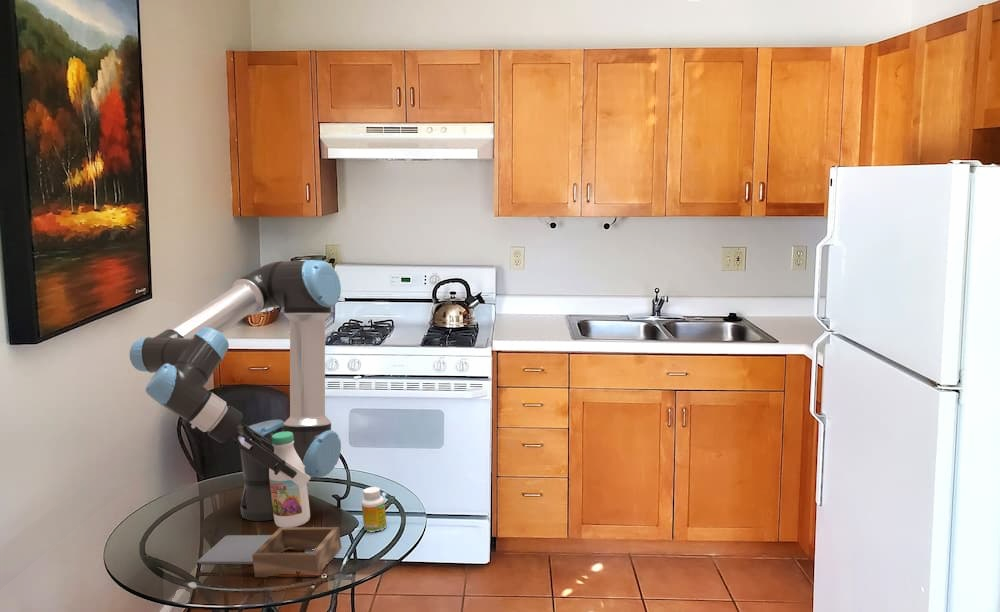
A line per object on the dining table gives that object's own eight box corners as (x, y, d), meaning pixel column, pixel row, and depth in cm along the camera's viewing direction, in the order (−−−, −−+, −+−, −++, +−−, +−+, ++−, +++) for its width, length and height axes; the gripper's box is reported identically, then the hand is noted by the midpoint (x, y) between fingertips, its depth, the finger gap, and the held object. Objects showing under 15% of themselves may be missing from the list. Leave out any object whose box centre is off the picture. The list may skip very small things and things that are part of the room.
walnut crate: (282, 548, 196) (279, 527, 196) (341, 547, 194) (339, 527, 193) (254, 577, 182) (252, 555, 182) (318, 577, 180) (315, 555, 179)
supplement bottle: (382, 533, 201) (378, 494, 199) (360, 532, 202) (356, 493, 200) (389, 523, 206) (386, 485, 204) (368, 523, 207) (364, 485, 205)
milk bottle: (289, 512, 191) (278, 427, 188) (317, 515, 188) (307, 429, 185) (267, 526, 184) (256, 438, 181) (296, 530, 181) (285, 440, 178)
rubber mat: (226, 537, 205) (226, 535, 205) (280, 537, 202) (280, 535, 202) (197, 564, 191) (196, 561, 191) (255, 564, 189) (255, 561, 189)
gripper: (203, 421, 187) (287, 476, 195) (207, 446, 168) (299, 506, 176) (225, 393, 188) (307, 450, 196) (231, 415, 169) (322, 477, 177)
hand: (303, 476), depth 186 cm, fingers closed on milk bottle, 7 cm apart
